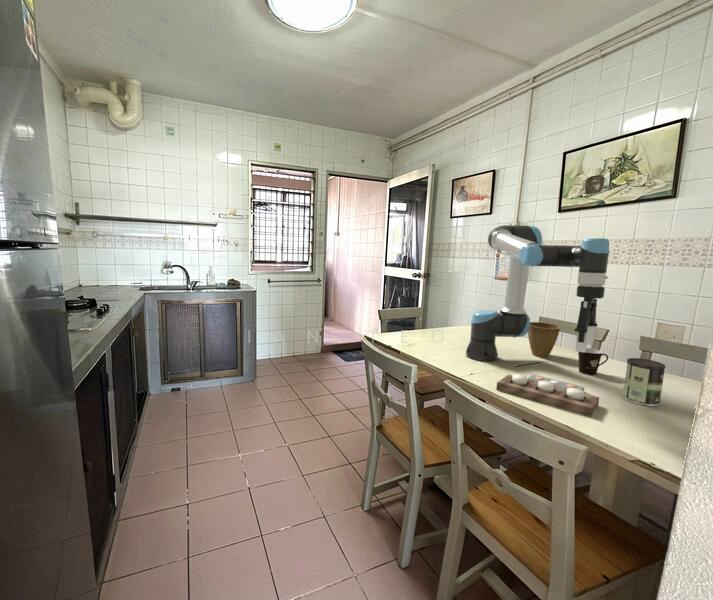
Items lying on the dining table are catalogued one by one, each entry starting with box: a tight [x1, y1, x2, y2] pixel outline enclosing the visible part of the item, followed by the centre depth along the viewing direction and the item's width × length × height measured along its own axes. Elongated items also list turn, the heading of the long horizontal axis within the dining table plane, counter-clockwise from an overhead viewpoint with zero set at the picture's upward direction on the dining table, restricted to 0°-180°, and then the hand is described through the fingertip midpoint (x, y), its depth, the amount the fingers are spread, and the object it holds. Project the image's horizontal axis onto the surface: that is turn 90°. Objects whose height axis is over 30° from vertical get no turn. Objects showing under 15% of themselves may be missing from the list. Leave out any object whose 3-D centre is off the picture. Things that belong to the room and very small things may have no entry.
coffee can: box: [622, 357, 666, 407], centre depth 119 cm, size 10×10×14 cm
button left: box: [511, 373, 528, 385], centre depth 126 cm, size 5×5×2 cm
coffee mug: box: [577, 347, 609, 376], centre depth 146 cm, size 12×9×10 cm
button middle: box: [538, 381, 554, 393], centre depth 120 cm, size 5×5×2 cm
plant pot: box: [527, 321, 561, 358], centre depth 172 cm, size 15×15×16 cm
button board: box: [496, 374, 600, 418], centre depth 120 cm, size 30×12×3 cm, turn 46°
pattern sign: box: [527, 374, 585, 392], centre depth 130 cm, size 18×7×2 cm, turn 46°
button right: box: [566, 388, 585, 401], centre depth 114 cm, size 5×5×2 cm
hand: (584, 347), depth 114 cm, fingers open, 13 cm apart
